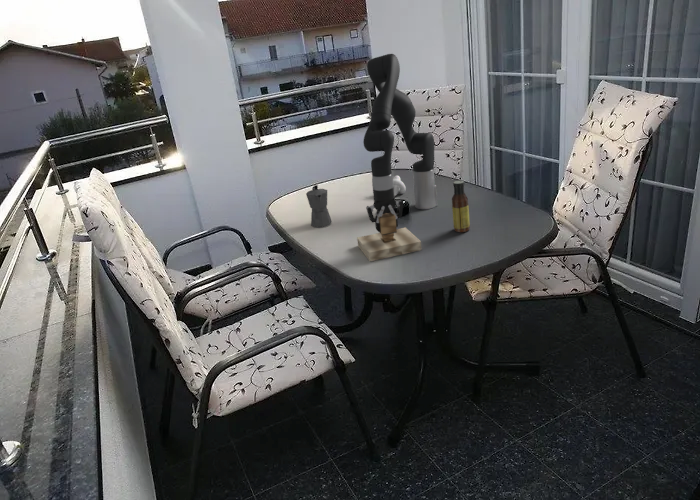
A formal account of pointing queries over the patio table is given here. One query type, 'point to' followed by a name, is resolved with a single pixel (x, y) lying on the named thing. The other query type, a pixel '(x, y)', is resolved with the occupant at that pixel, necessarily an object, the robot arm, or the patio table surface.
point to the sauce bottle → (460, 208)
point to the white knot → (398, 186)
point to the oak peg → (388, 226)
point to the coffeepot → (318, 207)
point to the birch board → (388, 245)
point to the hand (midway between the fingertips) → (386, 229)
